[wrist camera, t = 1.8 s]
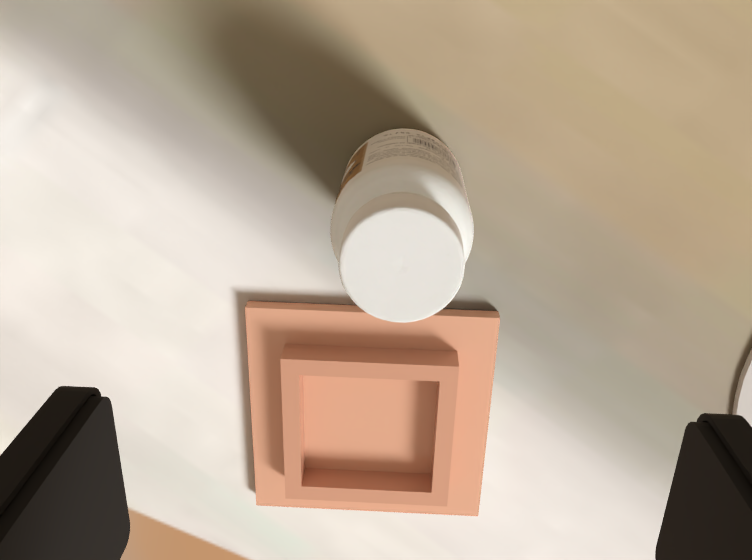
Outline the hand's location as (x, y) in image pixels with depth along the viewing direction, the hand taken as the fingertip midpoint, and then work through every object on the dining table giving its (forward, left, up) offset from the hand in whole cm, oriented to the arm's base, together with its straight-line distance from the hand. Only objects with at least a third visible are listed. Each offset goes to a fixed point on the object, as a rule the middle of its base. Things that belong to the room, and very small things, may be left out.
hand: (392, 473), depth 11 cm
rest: (+10, -1, -16) cm, 19 cm away
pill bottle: (0, 0, -16) cm, 16 cm away
